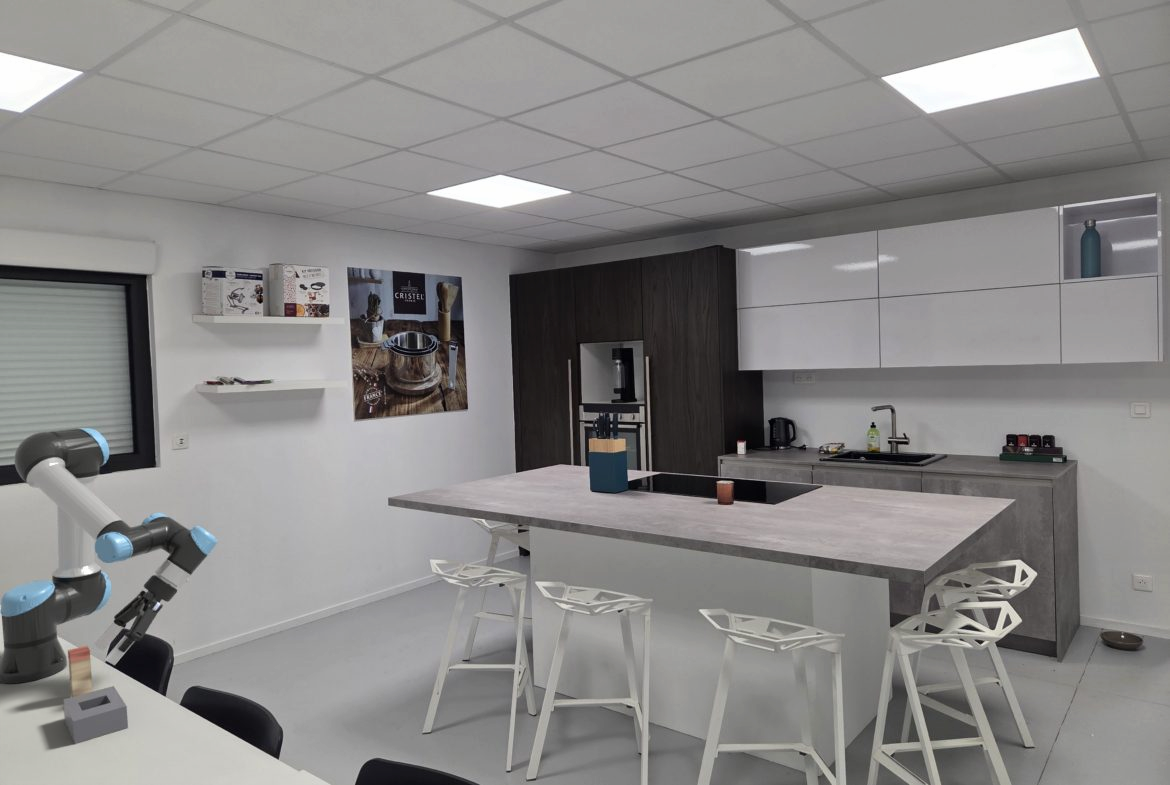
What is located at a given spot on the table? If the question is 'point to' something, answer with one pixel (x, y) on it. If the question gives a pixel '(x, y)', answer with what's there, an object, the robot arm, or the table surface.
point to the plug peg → (80, 671)
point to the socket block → (95, 714)
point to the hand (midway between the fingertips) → (103, 655)
